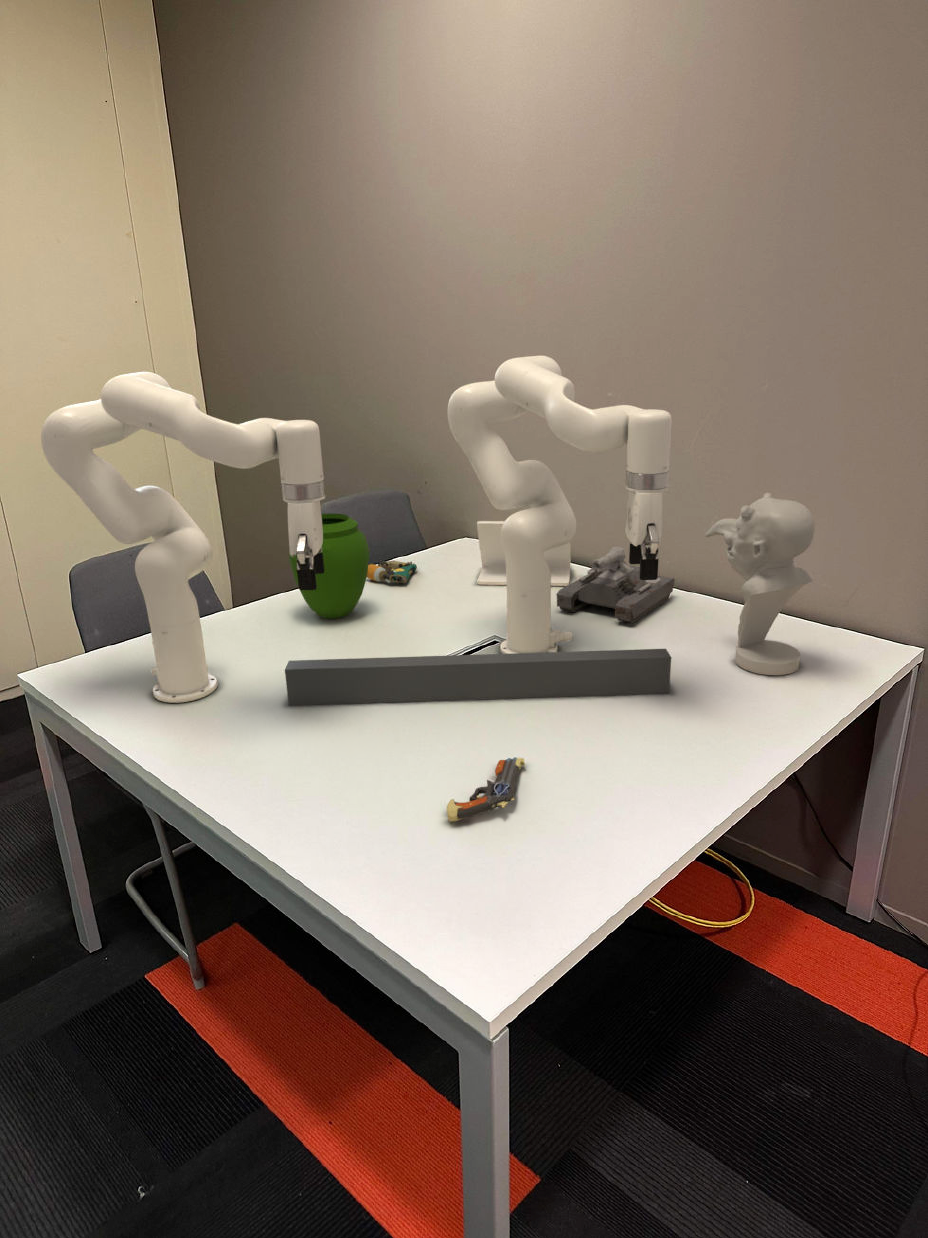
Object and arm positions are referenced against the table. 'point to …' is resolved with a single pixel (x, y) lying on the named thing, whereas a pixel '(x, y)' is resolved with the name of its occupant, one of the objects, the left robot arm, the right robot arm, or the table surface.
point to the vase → (338, 568)
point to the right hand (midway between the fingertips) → (642, 571)
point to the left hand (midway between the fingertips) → (312, 581)
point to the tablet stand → (496, 562)
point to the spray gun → (391, 571)
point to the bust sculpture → (766, 576)
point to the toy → (616, 588)
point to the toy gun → (490, 792)
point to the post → (478, 677)
